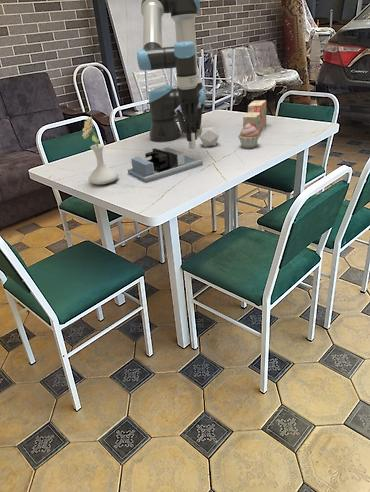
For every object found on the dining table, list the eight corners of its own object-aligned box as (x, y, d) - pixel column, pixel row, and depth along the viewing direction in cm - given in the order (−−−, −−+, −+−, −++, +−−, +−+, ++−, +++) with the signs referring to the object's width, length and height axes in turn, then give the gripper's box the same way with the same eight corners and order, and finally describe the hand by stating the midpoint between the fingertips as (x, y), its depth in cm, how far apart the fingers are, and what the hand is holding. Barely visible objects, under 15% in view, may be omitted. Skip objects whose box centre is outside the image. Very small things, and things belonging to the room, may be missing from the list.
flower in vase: (91, 178, 167) (77, 112, 155) (120, 174, 167) (108, 109, 155) (86, 190, 155) (71, 121, 143) (117, 187, 156) (105, 117, 143)
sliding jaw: (163, 161, 172) (161, 149, 170) (174, 157, 175) (173, 145, 172) (178, 167, 164) (177, 154, 162) (190, 163, 167) (188, 151, 164)
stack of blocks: (256, 137, 195) (256, 110, 189) (243, 137, 198) (242, 110, 192) (266, 125, 212) (266, 99, 206) (254, 125, 215) (253, 99, 209)
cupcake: (261, 148, 180) (261, 124, 175) (239, 150, 180) (239, 126, 175) (258, 142, 188) (258, 119, 183) (237, 144, 188) (236, 121, 184)
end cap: (176, 167, 165) (174, 150, 161) (162, 173, 161) (160, 155, 157) (160, 163, 171) (158, 146, 168) (146, 168, 168) (144, 151, 164)
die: (213, 150, 186) (223, 130, 184) (195, 141, 185) (205, 121, 184) (212, 151, 194) (222, 132, 192) (195, 143, 193) (205, 123, 192)
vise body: (128, 174, 167) (125, 158, 164) (183, 157, 179) (181, 143, 176) (146, 183, 157) (143, 166, 154) (202, 165, 168) (201, 149, 165)
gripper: (178, 91, 154) (184, 154, 166) (207, 85, 160) (211, 146, 172) (167, 89, 160) (174, 150, 172) (196, 83, 166) (200, 143, 177)
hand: (192, 148), depth 172 cm, fingers closed
